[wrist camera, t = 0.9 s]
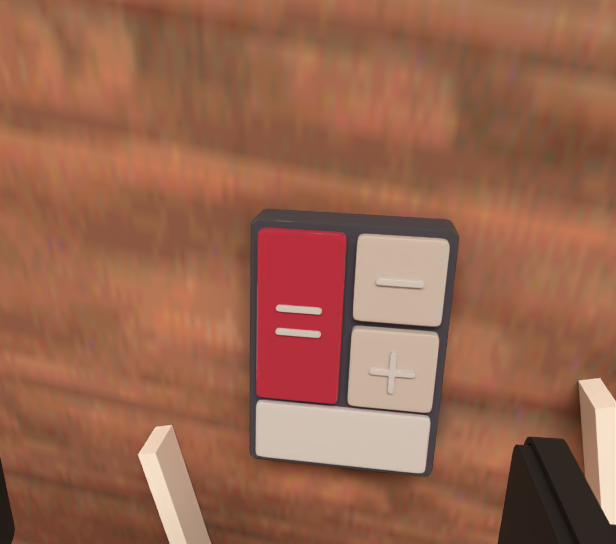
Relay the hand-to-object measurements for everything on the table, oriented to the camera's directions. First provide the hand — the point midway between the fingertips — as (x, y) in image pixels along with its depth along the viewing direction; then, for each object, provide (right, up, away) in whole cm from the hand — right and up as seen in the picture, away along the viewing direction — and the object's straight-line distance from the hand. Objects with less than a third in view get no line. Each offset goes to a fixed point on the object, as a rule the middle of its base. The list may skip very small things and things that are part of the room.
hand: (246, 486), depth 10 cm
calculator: (+4, 0, +25) cm, 26 cm away
